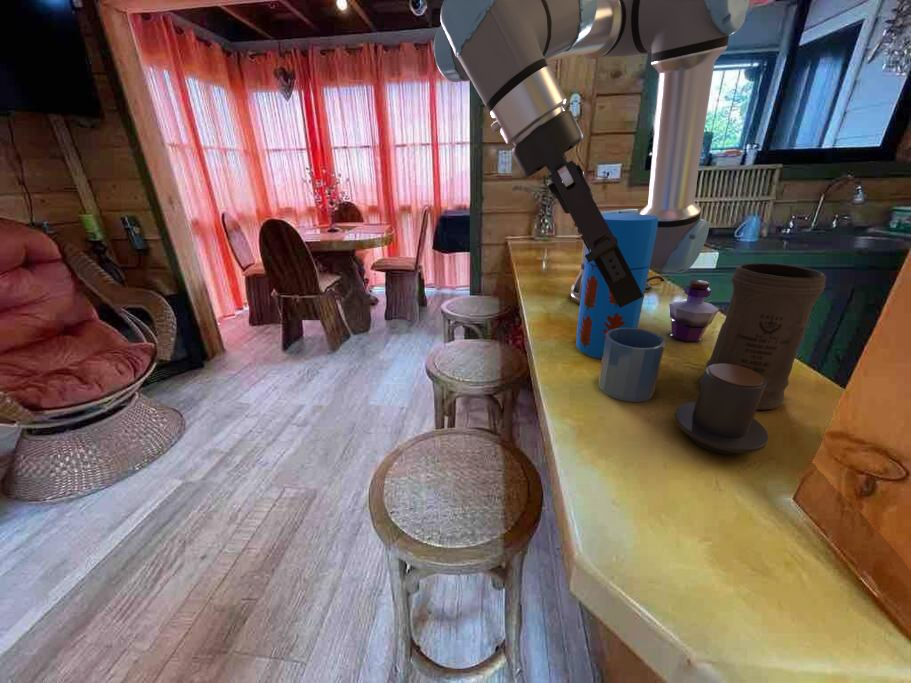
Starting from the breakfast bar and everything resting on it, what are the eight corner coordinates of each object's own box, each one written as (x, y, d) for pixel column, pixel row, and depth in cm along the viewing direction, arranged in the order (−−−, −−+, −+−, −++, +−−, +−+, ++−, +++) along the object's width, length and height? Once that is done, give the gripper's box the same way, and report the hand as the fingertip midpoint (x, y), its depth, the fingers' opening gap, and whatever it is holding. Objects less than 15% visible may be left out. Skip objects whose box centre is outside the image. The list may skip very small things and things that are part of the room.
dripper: (679, 408, 56) (695, 348, 51) (763, 434, 50) (789, 369, 46) (663, 443, 49) (680, 378, 44) (759, 478, 43) (789, 407, 39)
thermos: (638, 362, 69) (667, 220, 58) (577, 357, 71) (595, 220, 60) (626, 338, 78) (649, 213, 68) (573, 335, 81) (587, 213, 70)
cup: (608, 370, 66) (616, 323, 62) (658, 385, 61) (670, 335, 58) (591, 390, 60) (598, 340, 57) (645, 408, 56) (657, 354, 52)
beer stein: (797, 419, 52) (851, 277, 45) (708, 405, 56) (746, 271, 49) (757, 374, 66) (794, 259, 59) (687, 365, 69) (715, 256, 62)
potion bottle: (708, 333, 80) (724, 278, 75) (711, 349, 73) (728, 289, 68) (663, 326, 84) (675, 274, 79) (661, 341, 77) (674, 284, 72)
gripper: (515, 151, 55) (582, 273, 60) (498, 145, 33) (606, 336, 38) (562, 117, 52) (628, 248, 57) (578, 85, 30) (683, 302, 35)
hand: (619, 284), depth 48 cm, fingers open, 13 cm apart
